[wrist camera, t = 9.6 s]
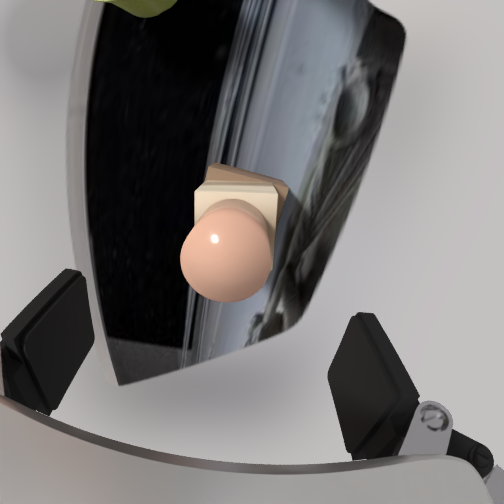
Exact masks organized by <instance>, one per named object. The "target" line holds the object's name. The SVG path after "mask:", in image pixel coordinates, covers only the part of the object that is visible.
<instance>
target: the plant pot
mask: <svg viewBox="0 0 504 504" xmlns="http://www.w3.org/2000/svg"><path fill="white" fill-rule="evenodd" d="M94 1H98V2H110V3H113V4H115V5H117V6H119V7H121V8H123V9H124V10H126V11H128V12H129V13H131V14H133V15H135V16H138V17H143V18H146V17H153V16H156V15H159V14H160V13H162V12H163V11H165V10H167V9H169V8H171V7H172V6H173V5H174V4H175V2H176V1H177V0H94Z"/></svg>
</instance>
